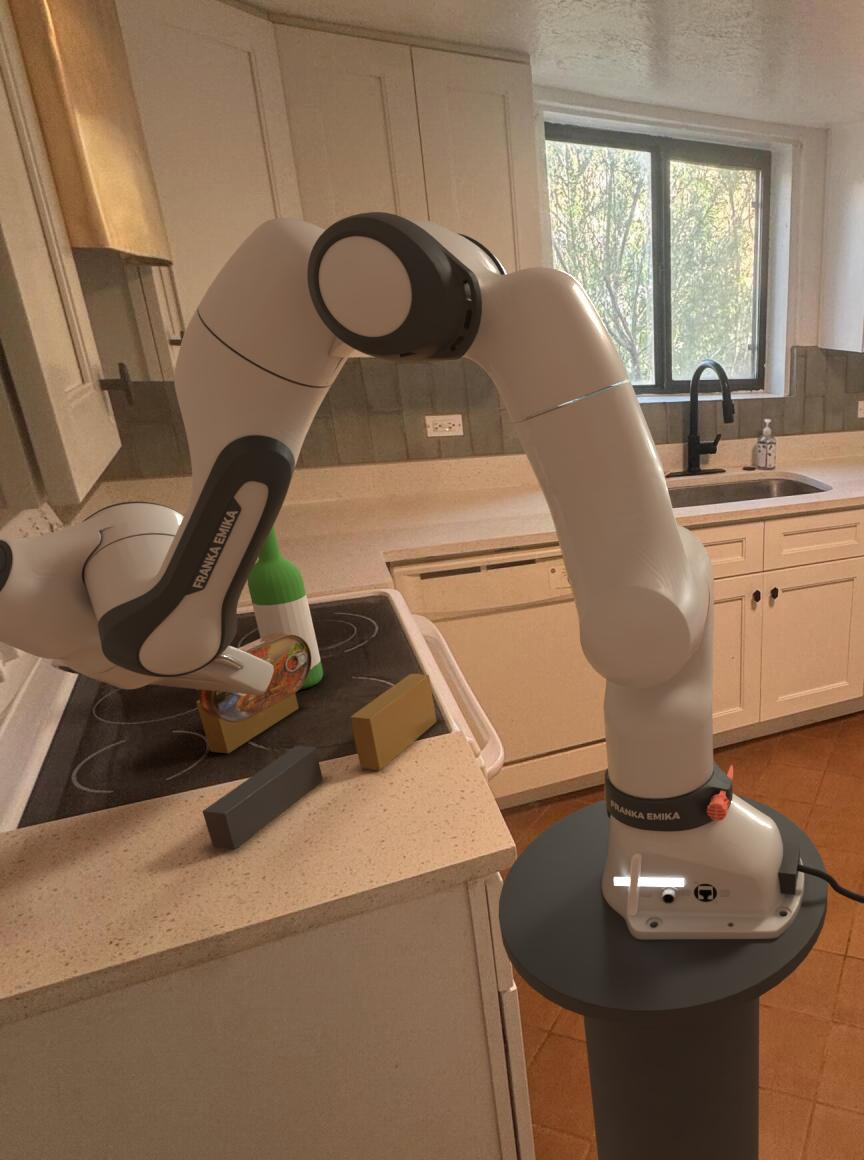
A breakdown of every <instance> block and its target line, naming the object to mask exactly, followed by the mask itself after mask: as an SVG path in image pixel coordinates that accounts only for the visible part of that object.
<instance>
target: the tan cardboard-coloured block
mask: <svg viewBox="0 0 864 1160" xmlns="http://www.w3.org/2000/svg"><path fill="white" fill-rule="evenodd" d="M195 704H196V708H197V709H198V713H199V716H200V721H201V724H202V727H203V731H204V734H205V735H204V736H205V738H206V741H207V745H208V748H209V751H210V752H212V753H220V754H230V753H232V752H233V751H235V750H236V749H238V748H239V747H241V746H243V745H244V744H245V743H247V742H249V741H251V740H252V739H254V738H255V737H256V736H258V735H260V734H261V733H263V732H264V731H266V730H268V729H269V728H270V727H272V726H274V725H275V724H277V723H278V722H280V721H281V720H283V719H284V718H286V717H288V716H289V715H291V714H293V713H294V712H295V711H297V710H298V709H299V703H298V700H297V695H296V693H294V694H293V695H291V696H289V697H287V698H286V699H284V700H282V701H280V702H278V703H276V704H274V705H272V706H271V707H269V708H267V709H265V710H263V711H261V712H260V713H258V714H256V715H254V716H252V717H250V718H249V719H247V720H244V721H241V722H228V721H225V720H223V719H219V718H215V717H212V716H210V715H209V714H207V713H206V712H205V711H204V710H203V708H202V706H201V704H200V700H199V699H198V700H196V703H195Z"/></svg>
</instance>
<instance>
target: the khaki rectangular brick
mask: <svg viewBox="0 0 864 1160" xmlns="http://www.w3.org/2000/svg"><path fill="white" fill-rule="evenodd" d="M430 679H431V678H430V674H423V673H413V672H412V673H409V674H408V675H407V676H405V677H404V678H402V679H401V680H400V681H399V682H397V683H395V684H394V685H392V686H391V687H390V688H389V689H387V690H385V691H384V692H383V693H381V694H380V695H379V696H377V697H376V698H374V699H373V700H372V701H370V702H368V703H367V704H366V705H364V706H363V707H362V708H360V709H359V710H358V711H356V712H355V713H354V714H352V715H351V716H350V717H349V719H350V724H351V728H352V733H353V738H354V743H355V747H356V748H355V749H356V752H357V757H358V762H359V763H358V764H359V766H360V769H363V770H365V769H366V770H373V771H381V770H383V769H384V768H385V767H386V766H387V765H388V764H389V763H391V762H392V761H393V760H394V759H396V757H398V756H399V755H400V754H401V753H403V752H404V751H405V750H406V749H407V748H408V747H409V746H411V745H412V744H413V743H414V742H415V741H416V740H417V739H419V737H421V736H422V735H423V734H424V733H426V732H427V731H428V730H429V729H430V728H432V727H433V726H434V725H435V724H436V723H437V717H436V716H437V715H436V711H435V705H434V704H435V703H434V698H433V691H432V685H431V680H430Z"/></svg>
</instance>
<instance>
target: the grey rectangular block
mask: <svg viewBox="0 0 864 1160" xmlns="http://www.w3.org/2000/svg"><path fill="white" fill-rule="evenodd" d="M319 759H320V758H319V755H318V751H317V747H311V746H304V745H295V746H293V747H292V748H290V749H289V750H288V751H286V752H285V753H283V754H282V755H281V756H279V757H277V758H276V759H274V761H272V762H271V763H269V764H267V765H266V766H265V767H263V768H262V769H261V770H259V771H258V772H256V773H255V774H253V775H251V776H250V777H249V778H248V779H246V780H244V781H243V782H242V783H240V784H239V785H238V786H236V787H235V788H233V789H231V790H230V791H228V793H226V794H225V795H223V796H222V797H219V799H218V800H216V801H214V802H213V803H211V804H210V805H209V806H208V807H206V808H205V809H203V810H202V814H203V815H202V816H203V818H204V821H205V824H206V829H207V831H208V836H209V839H210V841H211V845H212V847H213V848H219V849H224V850H225V849H227V850H233V851H234V850H237V849H238V848H240V847H241V845H242V844H245V842H247V841H248V840H249V839H251V837H253V836H254V835H256V834H257V833H258V832H260V831H261V830H262V829H263V828H265V827H266V826H267V825H268V824H269V823H271V822H272V821H273V820H274V819H276V818H277V817H278V816H280V815H281V814H282V813H283V812H285V811H286V810H287V809H289V808H290V807H291V806H292V805H294V804H295V803H296V802H297V801H298V800H300V799H301V798H303V796H305V795H306V794H307V793H309V792H310V791H311V790H313V789H314V788H315V787H317V786H318V785H319V784H320V783H322V782H323V781H324V778H323V773H322V769H321V765H320V760H319Z"/></svg>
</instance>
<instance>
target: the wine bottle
mask: <svg viewBox="0 0 864 1160" xmlns="http://www.w3.org/2000/svg"><path fill="white" fill-rule="evenodd" d="M247 586H248V591H249V595H250V599H251V604H252V607H253V608H252V609H253V612H254V617H255V621H256V626H257V629H258V634H259V637H260V638H262V637H264V636H267V635H269V634H274V633H281V634H287V635H296V636H299V637H301V638H302V639H304V640H305V641H306V643H307V644H308V646H309V648H310V652H311V668H310V672H309V675H308V677H307V679H306V681H305V683H304V684H303V686H302V687H301V688H300V689H299V690H298V691H302V690H305V689H309V688H312V687H313V686H315V685H318V683H320V682H321V681H322V680H323V676H324V669H323V665H322V660H321V656H320V650H319V646H318V641H317V637H316V632H315V628H314V624H313V619H312V614H311V610H310V609H311V608H310V606H309V600H308V596H307V592H306V588H305V583H304V579H303V576H302V573H301V571H300V569H299V568H298V566H296V564H294V563H293V562H292V561H291V560H288V559H286V558H284V557H283V556H282V554H281V551H280V546H279V542H278V537H277V534H276V529H275V524H274V525H273V527H272V529H271V531H270V533H269V535H268V538H267V540H266V542H265V544H264V546H263V548H262V550H261V552H260V554H259V556H258V559H257V561H256V563H255V565H254V567H253V569H252V571H251V573H250V575H249V577H248V579H247ZM260 638H259V639H260Z"/></svg>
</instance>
